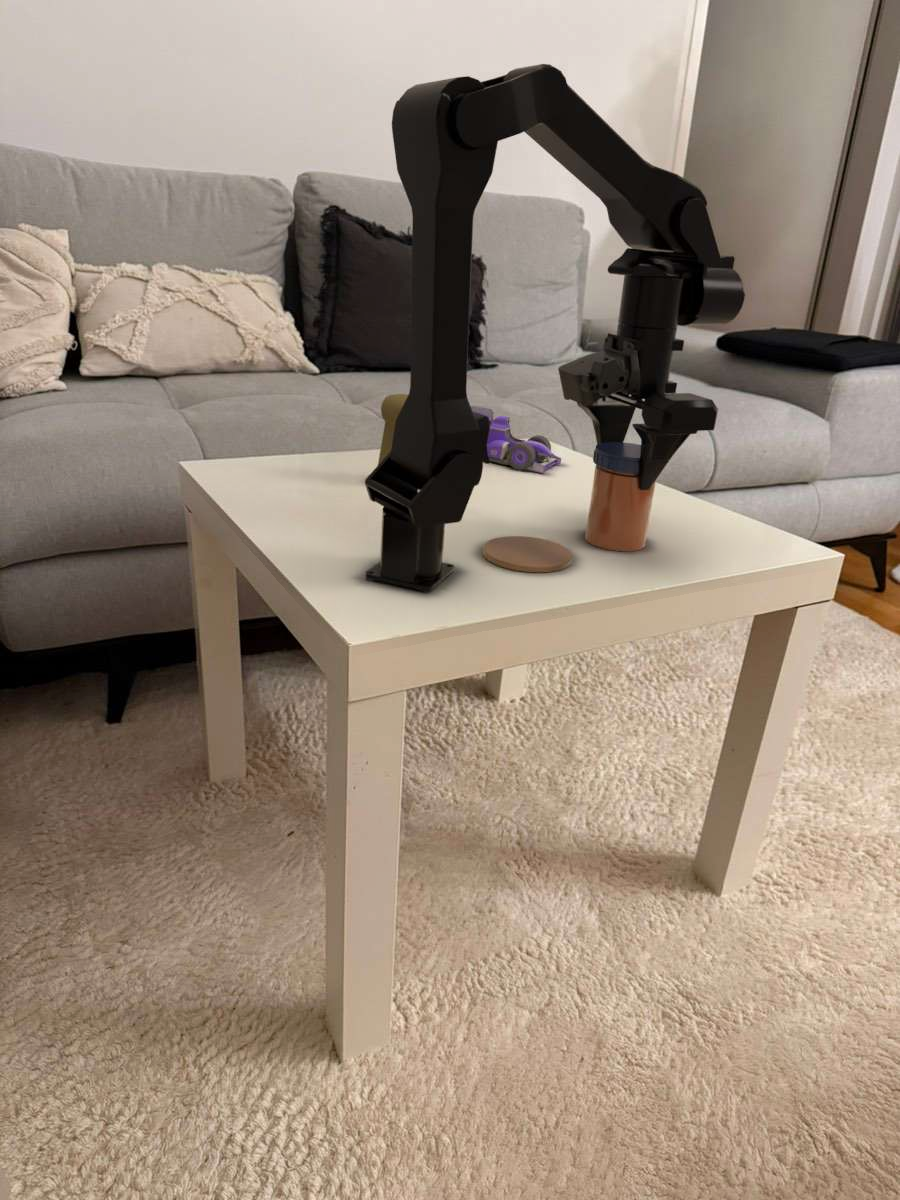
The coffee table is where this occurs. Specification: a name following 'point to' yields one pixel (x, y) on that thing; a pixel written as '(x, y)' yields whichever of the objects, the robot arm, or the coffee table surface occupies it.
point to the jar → (618, 511)
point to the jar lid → (618, 456)
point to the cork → (390, 421)
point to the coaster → (527, 554)
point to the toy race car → (516, 446)
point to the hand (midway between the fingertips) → (624, 480)
